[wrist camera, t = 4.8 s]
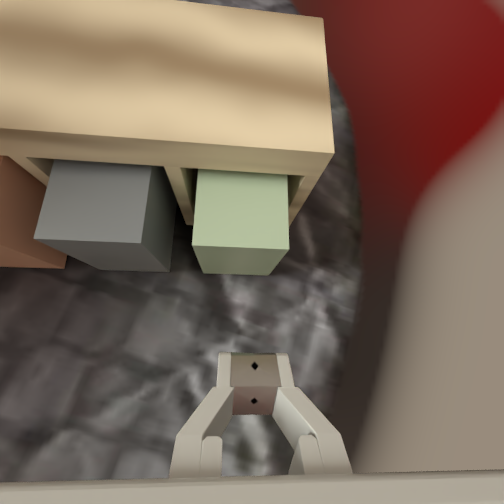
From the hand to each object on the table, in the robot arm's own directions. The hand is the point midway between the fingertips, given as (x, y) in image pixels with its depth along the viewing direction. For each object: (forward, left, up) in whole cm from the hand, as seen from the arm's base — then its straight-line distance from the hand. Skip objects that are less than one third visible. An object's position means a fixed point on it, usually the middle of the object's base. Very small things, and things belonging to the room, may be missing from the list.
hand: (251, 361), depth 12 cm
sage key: (+7, +7, -7) cm, 12 cm away
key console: (+5, +15, -8) cm, 18 cm away
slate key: (+2, +12, -7) cm, 14 cm away
